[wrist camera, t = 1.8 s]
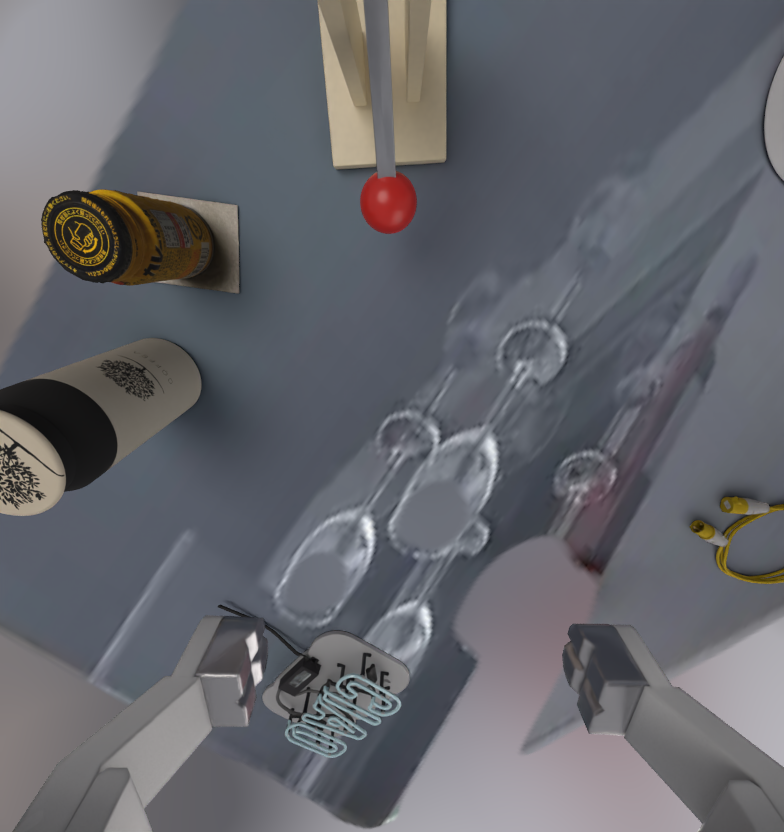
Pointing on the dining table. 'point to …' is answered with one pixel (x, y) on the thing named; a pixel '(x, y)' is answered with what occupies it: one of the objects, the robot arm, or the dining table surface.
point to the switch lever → (384, 133)
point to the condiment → (144, 239)
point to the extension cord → (715, 537)
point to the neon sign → (334, 688)
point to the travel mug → (87, 419)
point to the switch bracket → (411, 81)
